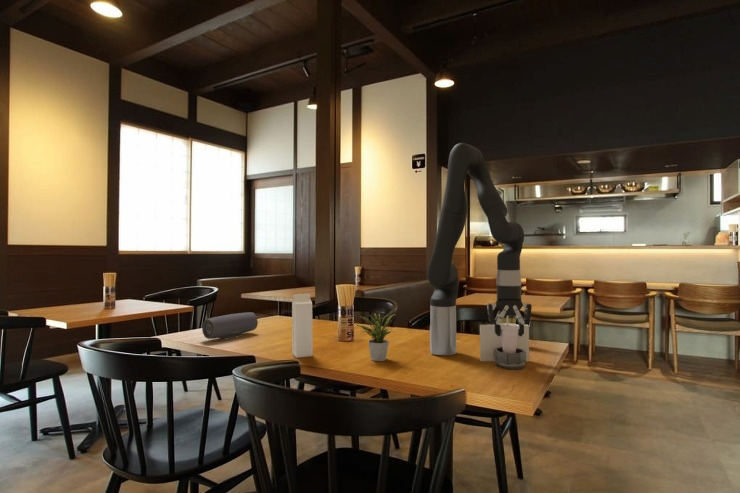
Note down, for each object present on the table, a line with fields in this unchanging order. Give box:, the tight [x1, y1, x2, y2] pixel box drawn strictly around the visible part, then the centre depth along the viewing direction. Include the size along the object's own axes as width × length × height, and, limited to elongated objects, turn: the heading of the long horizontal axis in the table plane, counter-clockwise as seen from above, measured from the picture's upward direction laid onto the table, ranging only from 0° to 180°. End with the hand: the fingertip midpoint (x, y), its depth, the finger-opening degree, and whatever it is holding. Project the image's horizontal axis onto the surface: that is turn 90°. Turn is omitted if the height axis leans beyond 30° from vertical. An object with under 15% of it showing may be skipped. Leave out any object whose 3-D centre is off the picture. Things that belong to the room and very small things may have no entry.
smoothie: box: [500, 316, 520, 353], centre depth 136 cm, size 6×6×14 cm
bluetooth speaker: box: [202, 311, 259, 340], centre depth 184 cm, size 23×9×10 cm, turn 145°
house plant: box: [356, 312, 396, 362], centre depth 146 cm, size 14×14×16 cm
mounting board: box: [479, 324, 530, 362], centre depth 142 cm, size 16×1×12 cm, turn 87°
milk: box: [291, 293, 314, 359], centre depth 152 cm, size 6×6×22 cm
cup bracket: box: [494, 347, 527, 371], centre depth 136 cm, size 9×10×5 cm
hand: (509, 335), depth 136 cm, fingers closed on smoothie, 6 cm apart
